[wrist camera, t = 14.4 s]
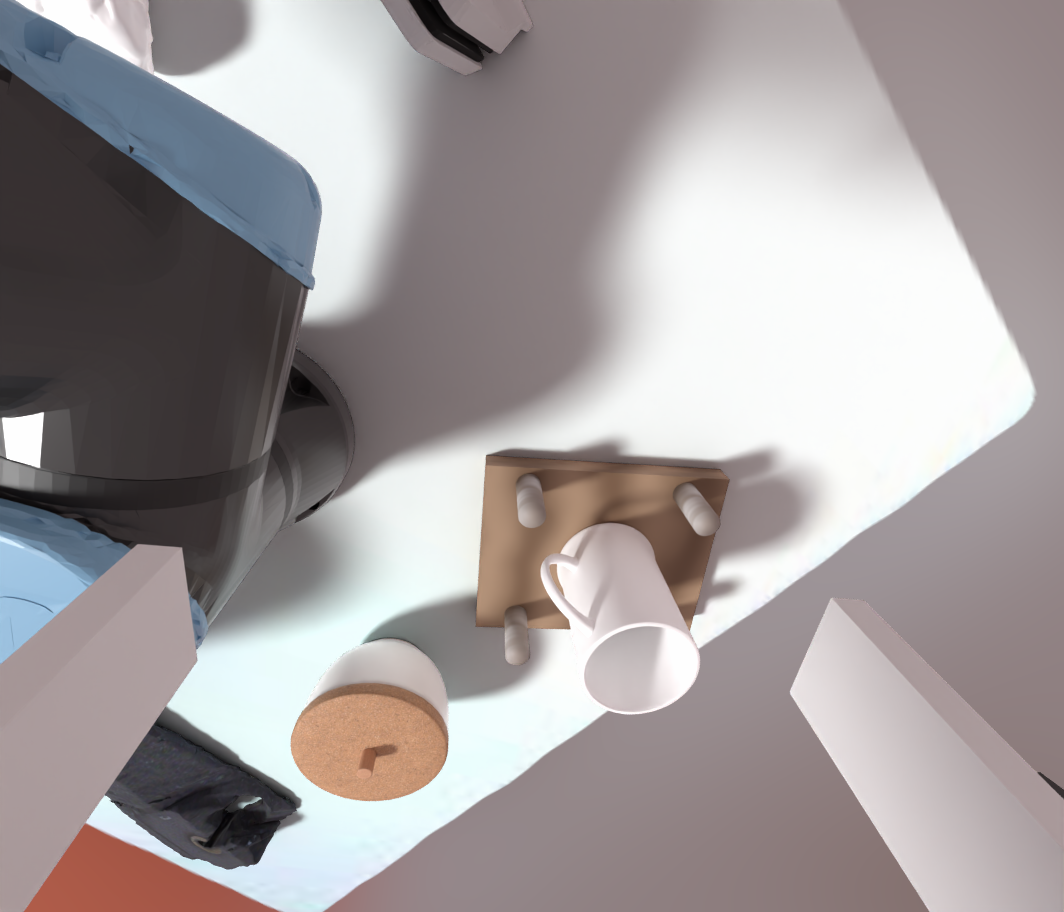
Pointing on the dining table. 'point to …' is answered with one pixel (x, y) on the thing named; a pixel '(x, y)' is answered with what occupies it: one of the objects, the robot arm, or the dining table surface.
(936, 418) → the dining table surface
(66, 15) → the bust
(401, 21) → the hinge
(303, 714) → the lidded bowl
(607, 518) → the peg board
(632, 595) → the mug
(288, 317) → the robot arm
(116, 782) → the dark slate chunk
